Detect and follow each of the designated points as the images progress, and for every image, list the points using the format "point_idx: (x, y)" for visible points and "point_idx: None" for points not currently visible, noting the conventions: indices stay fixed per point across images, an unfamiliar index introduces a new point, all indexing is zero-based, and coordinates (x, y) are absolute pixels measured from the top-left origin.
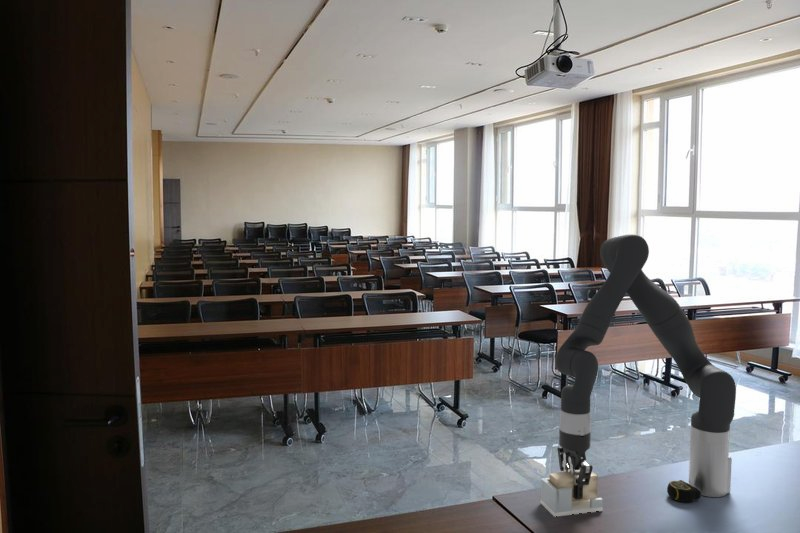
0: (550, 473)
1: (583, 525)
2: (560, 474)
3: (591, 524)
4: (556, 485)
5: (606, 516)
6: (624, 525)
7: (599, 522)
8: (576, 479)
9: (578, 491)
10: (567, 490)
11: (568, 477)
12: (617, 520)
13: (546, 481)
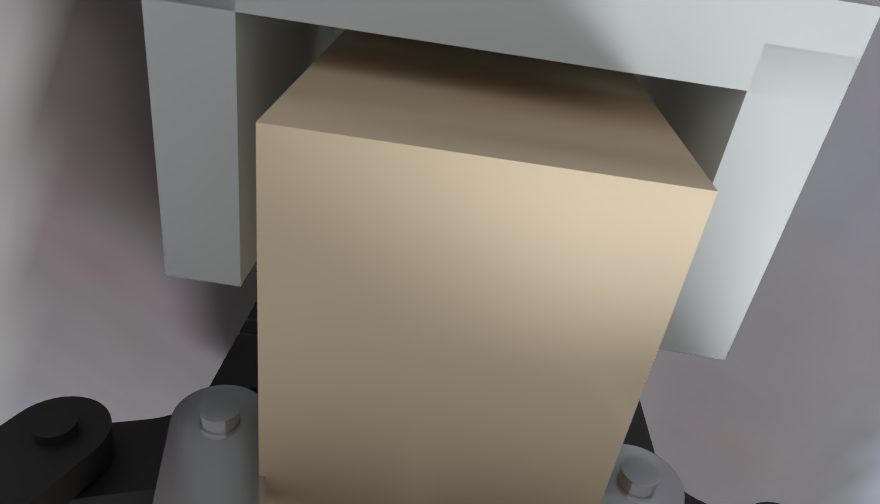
0: (706, 210)
1: (49, 91)
2: (528, 379)
3: (63, 177)
4: (334, 81)
5: (192, 377)
6: (25, 396)
7: (95, 265)
8: (163, 483)
9: (235, 354)
10: (168, 188)
11: (321, 425)
12: (112, 403)
13: (666, 23)
